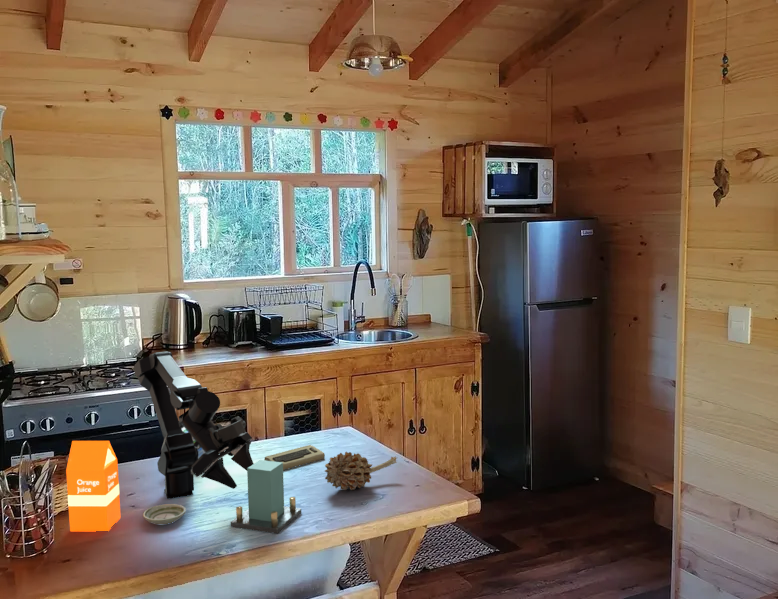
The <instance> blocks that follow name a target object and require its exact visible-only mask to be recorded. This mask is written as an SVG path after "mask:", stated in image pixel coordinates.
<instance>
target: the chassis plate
mask: <svg viewBox="0 0 778 599" xmlns="http://www.w3.org/2000/svg"><path fill="white" fill-rule="evenodd" d="M296 500H297V499H296V497H295V496H290V497H289V506H285V505H284V512H283V513H282V514H281V515H280V516H278V517H277V512H276V511H273V512H271V521H264V520H257V519H250V518H249V508H247V509H246V510H245V511H243V506H241V505H240V506H236V508H235V510H236V511H235V514H236V516H235V518H233V520H231V521H230V527H231V528H235V529H241V528H242V529H243V530H249V531H256V532H261V533H262V532H263V533H267V534H269V533H270V534H274V535H278V534H279V533H280V532H282V531H283V530H284V529H286V527H287V526H288V525H290V524H291V523H292V522H294V520H296V519H297V518H298V517H299V516H300V515H301V514H302V508H301V507H297V506H296Z"/></svg>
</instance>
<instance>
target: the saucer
mask: <svg viewBox="0 0 778 599" xmlns="http://www.w3.org/2000/svg"><path fill="white" fill-rule="evenodd" d="M186 513H187V508H186V506H184V505H182V504H177V503H165V504H159V505H158V504H157V505H154V506H151V507H149V508H148V509H146V510H145V511H143V513H142V517H143V519H144V520H146V521H148V523H152V524H155V525H156V524H167V525H169V524H168V523H171V524H173V523H175V522H176V521H178V520H180V519H182V517H183V516H184V515H185V514H186ZM174 521H175V522H174ZM172 522H173V523H172Z"/></svg>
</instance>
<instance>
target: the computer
mask: <svg viewBox="0 0 778 599" xmlns="http://www.w3.org/2000/svg"><path fill="white" fill-rule="evenodd" d="M325 457H326V456H325V452H324V451H322V450H320V449H319V448H317V447H315V446H314V445H311V444H309V445H308V444H307V445H304V446H300V447H297V448H296V447H295V448H292V449H289V450H283V451H282V452H278V453H274V454H270V455H267V456H264V459H263V460H265V461H274V462H283V471H285V469H287V470H289V469H288V468H290V469H293V468H292V467H294V468H296V467H295V466H297V467H300V466H299V465H301V466H303V464H304V465H307V464H306V463H308V464H310V462H311V463H315V462H319V461H322V460H325ZM318 460H319V461H318ZM314 461H315V462H314Z"/></svg>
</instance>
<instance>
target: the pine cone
mask: <svg viewBox="0 0 778 599" xmlns="http://www.w3.org/2000/svg"><path fill="white" fill-rule="evenodd" d="M397 463H398V462H397V456H391V457H390V459H388V460H387V461H385V462H383V463H381V464H377V465H376V466H373V464H372V463H371V464H370V463H369V461H368V459H367V458H366V457H364V456H362V455H361V454H360V453H359V452H357V453H354V454H352V452H350V451H349V452H348V451H345V452H344V454H343V453H342V452H340V453H339V454H337V455H336V456H335V455H334V456H333V457H329V460H328V463H325V465H324V467H325V468H326V469H325V470H324V472H325V473H326V476H325V477H324V478H325V480H327V481H326V483H327V484H328V483H330V484H332V485H331V486H332V487H335V489H338V487H340V490H341V491H346V490H348V489H349V490H351V491H354V490H355V489H357V488H359V489H360V488H362V487H365V486H366V483H370V482H371V479H372V475H371V474H372V473H374V472H377V471H380V470H382V469H384V468H387V467H389V466H391V465H394V464H397Z"/></svg>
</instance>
